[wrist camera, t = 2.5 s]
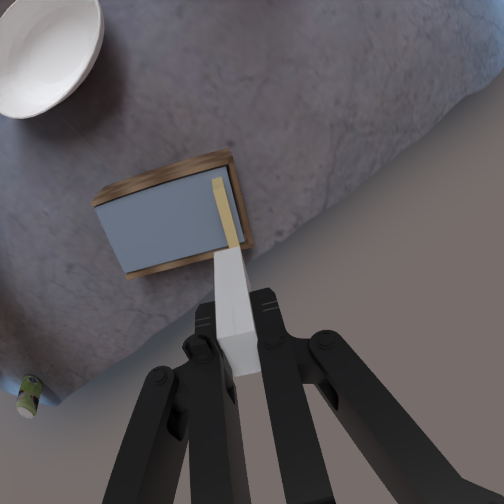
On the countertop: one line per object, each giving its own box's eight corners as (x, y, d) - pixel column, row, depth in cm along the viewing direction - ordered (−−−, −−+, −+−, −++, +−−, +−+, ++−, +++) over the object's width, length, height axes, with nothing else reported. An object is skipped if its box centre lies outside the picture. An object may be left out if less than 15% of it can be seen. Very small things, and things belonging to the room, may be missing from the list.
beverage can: (23, 377, 55) (11, 412, 45) (27, 368, 53) (14, 404, 43) (41, 389, 58) (31, 423, 48) (47, 380, 56) (36, 417, 46)
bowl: (91, 123, 31) (68, 131, 25) (-2, 104, 25) (-31, 111, 19) (141, -1, 24) (128, -18, 18) (37, -8, 18) (13, -18, 12)
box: (134, 257, 42) (127, 280, 38) (104, 187, 36) (90, 202, 31) (247, 227, 43) (254, 246, 38) (228, 148, 36) (232, 157, 32)
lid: (126, 269, 38) (118, 291, 34) (96, 204, 33) (83, 221, 29) (243, 237, 39) (249, 257, 34) (225, 164, 33) (228, 175, 29)
